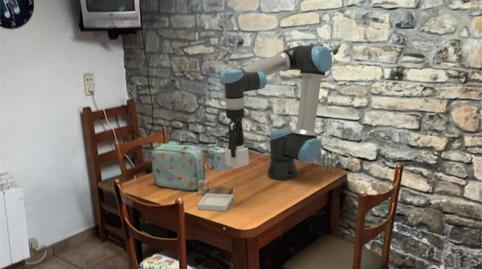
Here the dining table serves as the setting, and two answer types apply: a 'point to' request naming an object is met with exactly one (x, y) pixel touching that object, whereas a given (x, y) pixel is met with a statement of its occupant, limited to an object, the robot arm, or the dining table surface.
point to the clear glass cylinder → (203, 187)
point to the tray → (216, 202)
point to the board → (220, 190)
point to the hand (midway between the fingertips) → (237, 160)
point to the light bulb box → (217, 159)
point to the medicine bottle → (238, 154)
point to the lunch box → (178, 166)
